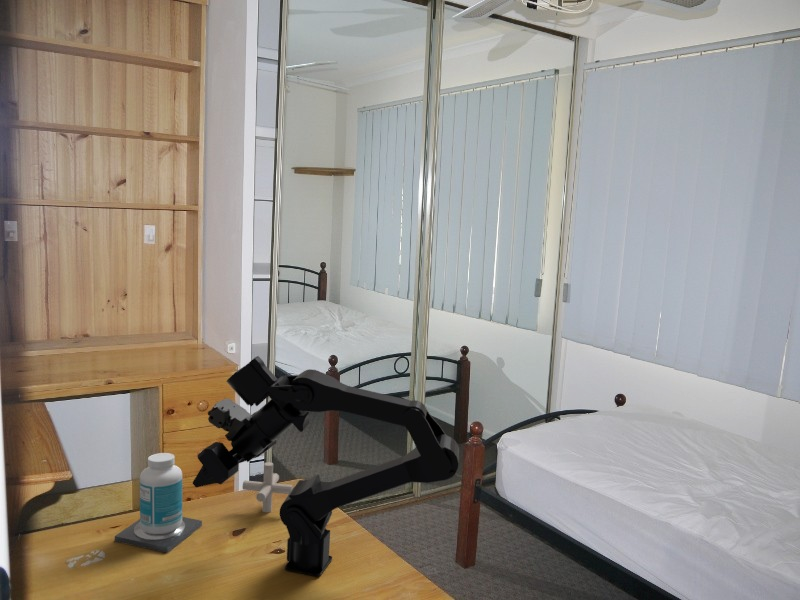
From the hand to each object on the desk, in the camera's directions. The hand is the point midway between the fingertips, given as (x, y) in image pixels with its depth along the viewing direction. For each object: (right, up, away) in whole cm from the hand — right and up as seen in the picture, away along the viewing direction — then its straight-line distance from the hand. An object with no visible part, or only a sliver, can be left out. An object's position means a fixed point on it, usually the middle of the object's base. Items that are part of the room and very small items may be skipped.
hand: (208, 475), depth 119 cm
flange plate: (-11, -12, +5) cm, 17 cm away
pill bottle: (-10, -11, +5) cm, 16 cm away
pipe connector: (+7, -12, +17) cm, 22 cm away
